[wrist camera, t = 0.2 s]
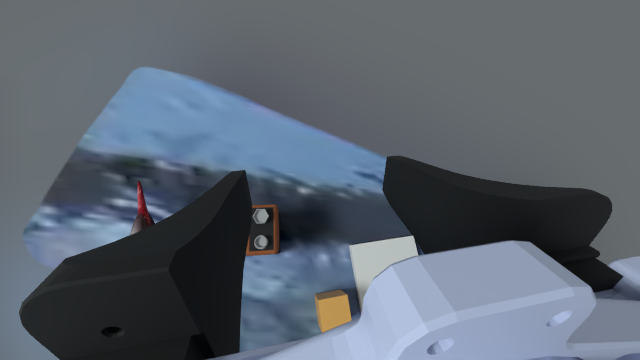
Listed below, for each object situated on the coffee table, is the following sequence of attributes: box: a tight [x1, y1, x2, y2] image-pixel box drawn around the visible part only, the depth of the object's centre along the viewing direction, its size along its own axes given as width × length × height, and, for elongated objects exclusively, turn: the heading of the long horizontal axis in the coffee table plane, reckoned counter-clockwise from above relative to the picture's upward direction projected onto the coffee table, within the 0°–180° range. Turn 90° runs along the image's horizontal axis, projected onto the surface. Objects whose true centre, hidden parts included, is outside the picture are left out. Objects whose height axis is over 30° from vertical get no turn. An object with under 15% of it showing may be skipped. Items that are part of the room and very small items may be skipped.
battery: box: [246, 205, 280, 256], centre depth 35 cm, size 4×7×10 cm, turn 4°
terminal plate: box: [349, 236, 418, 314], centre depth 38 cm, size 16×12×4 cm
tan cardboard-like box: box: [315, 290, 352, 333], centre depth 35 cm, size 4×4×5 cm
